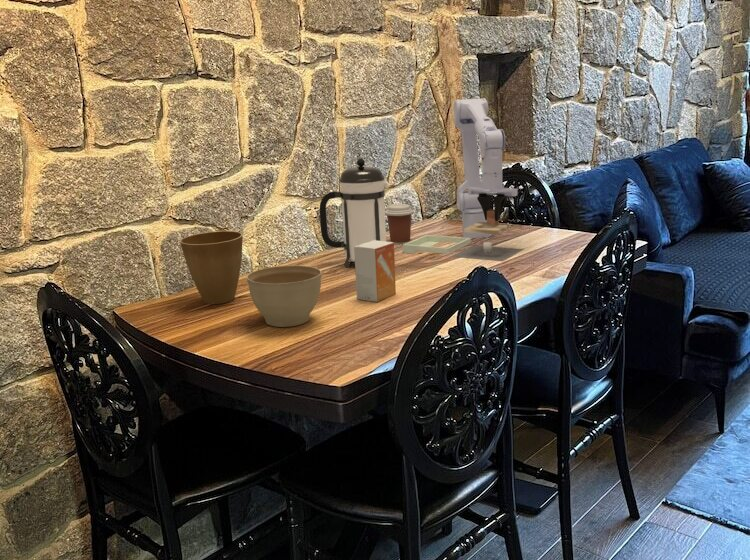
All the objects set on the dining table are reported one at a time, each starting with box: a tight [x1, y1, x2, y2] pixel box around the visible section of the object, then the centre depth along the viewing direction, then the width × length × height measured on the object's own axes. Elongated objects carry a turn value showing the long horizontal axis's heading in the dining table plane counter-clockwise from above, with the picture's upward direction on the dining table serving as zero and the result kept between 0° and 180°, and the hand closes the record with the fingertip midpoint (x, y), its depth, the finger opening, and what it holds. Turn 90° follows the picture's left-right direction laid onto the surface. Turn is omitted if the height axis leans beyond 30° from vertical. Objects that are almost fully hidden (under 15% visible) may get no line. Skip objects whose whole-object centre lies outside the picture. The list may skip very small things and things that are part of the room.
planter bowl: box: [246, 265, 322, 328], centre depth 157 cm, size 16×16×11 cm
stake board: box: [450, 241, 524, 262], centre depth 208 cm, size 16×16×4 cm
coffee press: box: [319, 158, 391, 269], centre depth 203 cm, size 17×16×30 cm
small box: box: [354, 240, 397, 303], centre depth 172 cm, size 8×6×13 cm
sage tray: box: [401, 234, 472, 255], centre depth 220 cm, size 16×16×2 cm
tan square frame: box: [464, 208, 511, 236], centre depth 206 cm, size 10×10×5 cm
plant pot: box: [179, 230, 244, 305], centre depth 175 cm, size 15×15×16 cm
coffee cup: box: [385, 203, 414, 246], centre depth 231 cm, size 9×9×12 cm
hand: (492, 219), depth 209 cm, fingers closed on tan square frame, 2 cm apart
